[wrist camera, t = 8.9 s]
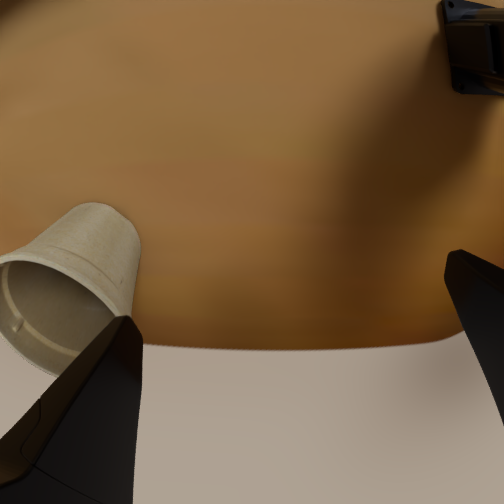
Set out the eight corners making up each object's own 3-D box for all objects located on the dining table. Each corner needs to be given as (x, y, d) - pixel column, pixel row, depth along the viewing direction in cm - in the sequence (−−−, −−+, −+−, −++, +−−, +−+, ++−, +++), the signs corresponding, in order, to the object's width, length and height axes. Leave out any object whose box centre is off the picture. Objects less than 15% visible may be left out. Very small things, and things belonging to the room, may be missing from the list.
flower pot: (190, 269, 22) (173, 370, 15) (95, 307, 24) (61, 393, 17) (116, 152, 18) (45, 220, 10) (24, 217, 19) (-41, 291, 12)
